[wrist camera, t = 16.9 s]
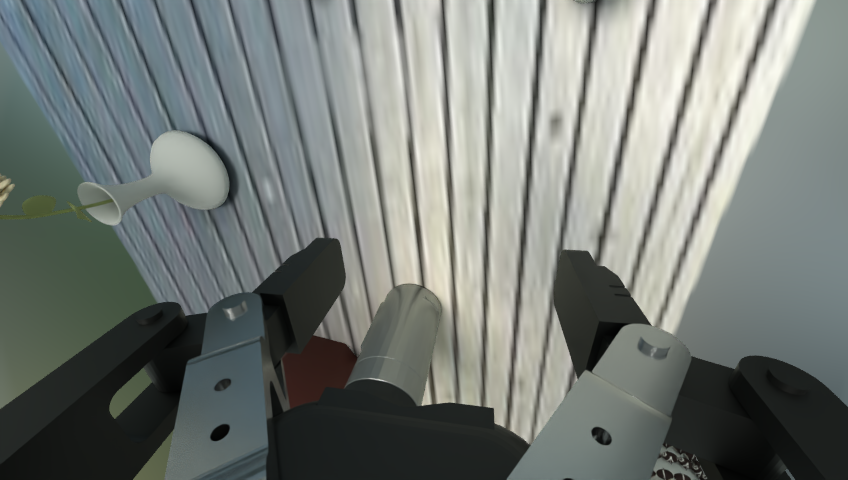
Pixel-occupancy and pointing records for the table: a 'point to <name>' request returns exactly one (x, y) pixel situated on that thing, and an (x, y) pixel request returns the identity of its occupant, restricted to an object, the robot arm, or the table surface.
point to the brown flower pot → (317, 369)
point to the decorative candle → (676, 465)
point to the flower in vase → (146, 183)
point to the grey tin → (584, 1)
